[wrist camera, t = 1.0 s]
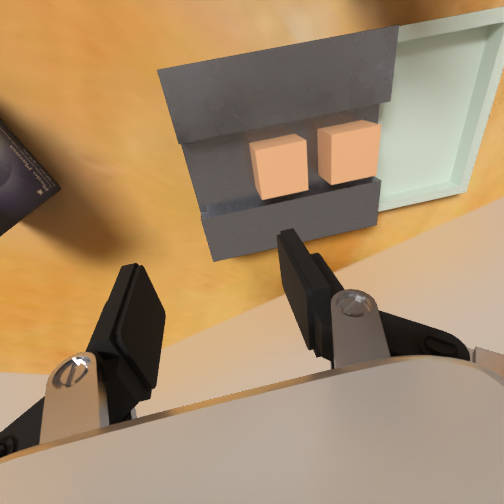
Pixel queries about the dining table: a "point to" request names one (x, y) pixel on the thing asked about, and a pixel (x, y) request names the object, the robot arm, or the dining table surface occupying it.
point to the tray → (438, 106)
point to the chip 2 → (348, 151)
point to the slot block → (278, 134)
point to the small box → (20, 181)
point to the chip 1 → (280, 165)
